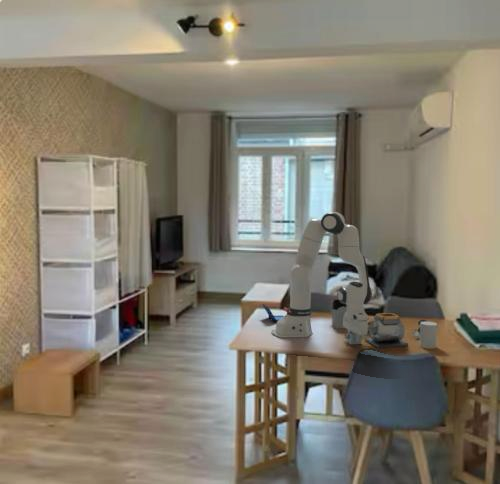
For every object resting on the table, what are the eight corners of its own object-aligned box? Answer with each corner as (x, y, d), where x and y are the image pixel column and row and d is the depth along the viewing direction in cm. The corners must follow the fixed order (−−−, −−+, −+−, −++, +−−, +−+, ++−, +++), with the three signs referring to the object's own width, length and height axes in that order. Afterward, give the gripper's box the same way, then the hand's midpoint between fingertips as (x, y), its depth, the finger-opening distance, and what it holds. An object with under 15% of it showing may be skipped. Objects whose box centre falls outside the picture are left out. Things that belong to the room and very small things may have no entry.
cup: (438, 348, 277) (439, 325, 276) (422, 348, 277) (424, 325, 275) (432, 344, 285) (433, 321, 284) (416, 344, 285) (417, 321, 283)
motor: (378, 348, 276) (380, 319, 274) (364, 340, 289) (366, 312, 287) (408, 346, 281) (409, 317, 279) (393, 338, 294) (394, 311, 293)
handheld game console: (290, 323, 325) (290, 308, 324) (268, 324, 322) (268, 308, 321) (282, 317, 340) (283, 302, 339) (261, 318, 337) (262, 303, 336)
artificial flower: (432, 333, 312) (437, 318, 309) (421, 347, 293) (427, 331, 290) (416, 327, 316) (421, 312, 313) (405, 340, 297) (410, 324, 294)
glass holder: (336, 328, 313) (337, 303, 312) (323, 323, 326) (324, 298, 324) (349, 327, 317) (350, 302, 315) (335, 322, 329) (336, 297, 328)
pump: (347, 344, 281) (347, 335, 280) (343, 342, 285) (343, 332, 285) (361, 343, 283) (361, 334, 283) (357, 341, 288) (357, 332, 287)
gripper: (340, 309, 292) (339, 335, 293) (359, 318, 273) (358, 345, 274) (350, 309, 294) (349, 334, 295) (370, 317, 275) (369, 344, 276)
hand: (354, 339), depth 284 cm, fingers closed on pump, 4 cm apart
